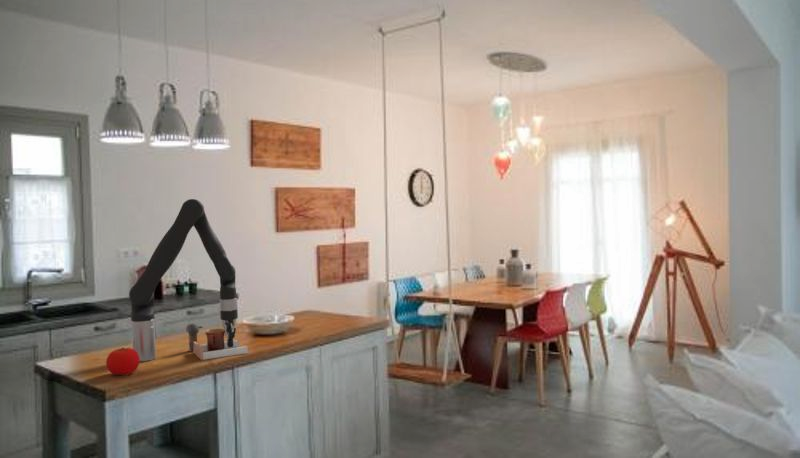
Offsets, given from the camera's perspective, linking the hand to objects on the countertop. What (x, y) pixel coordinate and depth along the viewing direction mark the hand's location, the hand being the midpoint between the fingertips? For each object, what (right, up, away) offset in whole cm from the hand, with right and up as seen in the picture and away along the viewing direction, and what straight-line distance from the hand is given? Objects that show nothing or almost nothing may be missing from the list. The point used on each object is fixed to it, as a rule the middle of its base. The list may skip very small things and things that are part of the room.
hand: (230, 346), depth 267 cm
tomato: (-33, -5, -33) cm, 47 cm away
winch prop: (-17, -2, +4) cm, 18 cm away
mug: (-6, -3, -4) cm, 8 cm away
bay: (-3, -2, -2) cm, 4 cm away
